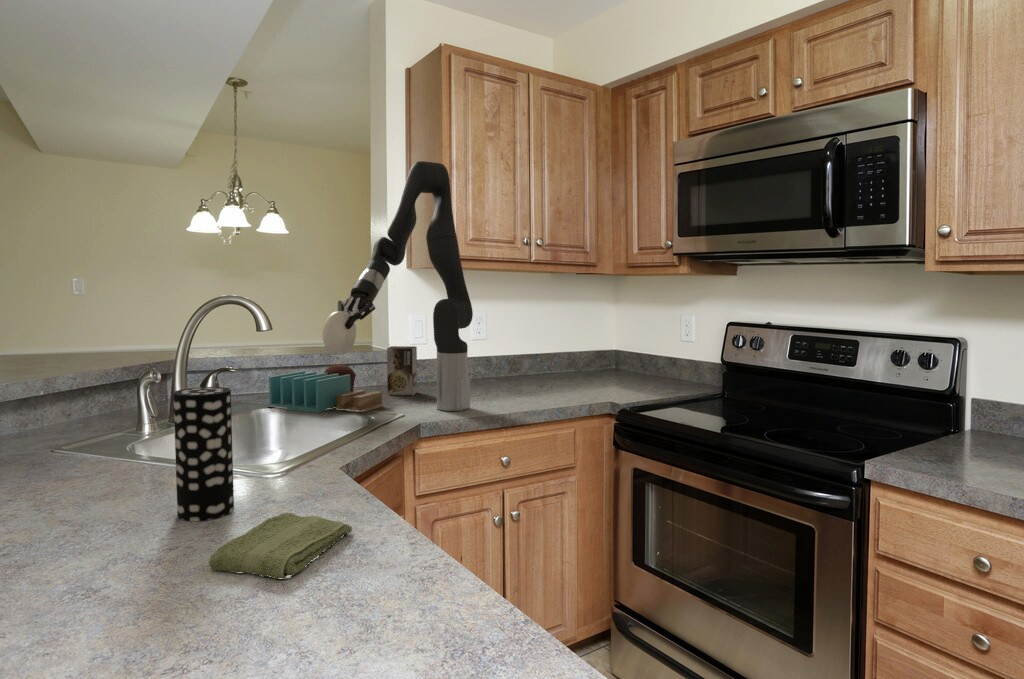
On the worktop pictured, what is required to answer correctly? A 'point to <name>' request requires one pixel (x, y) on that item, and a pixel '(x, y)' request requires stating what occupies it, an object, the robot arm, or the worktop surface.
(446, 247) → the robot arm
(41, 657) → the worktop surface
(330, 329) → the plate
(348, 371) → the muffin
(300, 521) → the washcloth
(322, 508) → the worktop surface
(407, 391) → the coffee box
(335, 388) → the rack
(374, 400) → the plate stand
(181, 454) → the spotted tube
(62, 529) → the worktop surface
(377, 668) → the worktop surface
